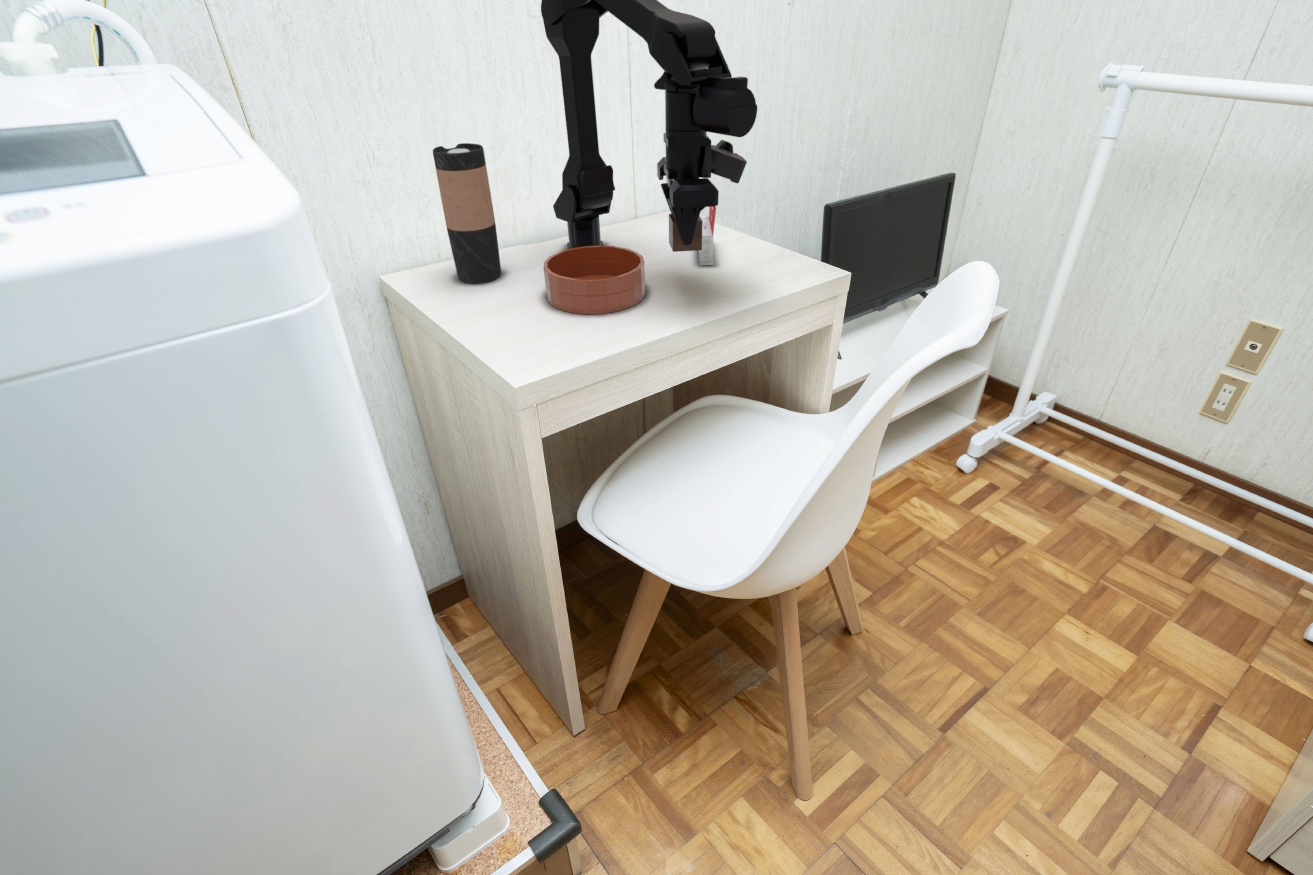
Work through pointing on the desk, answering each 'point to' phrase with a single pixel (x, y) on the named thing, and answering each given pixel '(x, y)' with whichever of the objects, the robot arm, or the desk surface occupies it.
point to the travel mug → (468, 211)
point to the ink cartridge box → (707, 238)
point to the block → (676, 238)
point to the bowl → (595, 279)
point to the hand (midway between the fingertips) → (685, 239)
